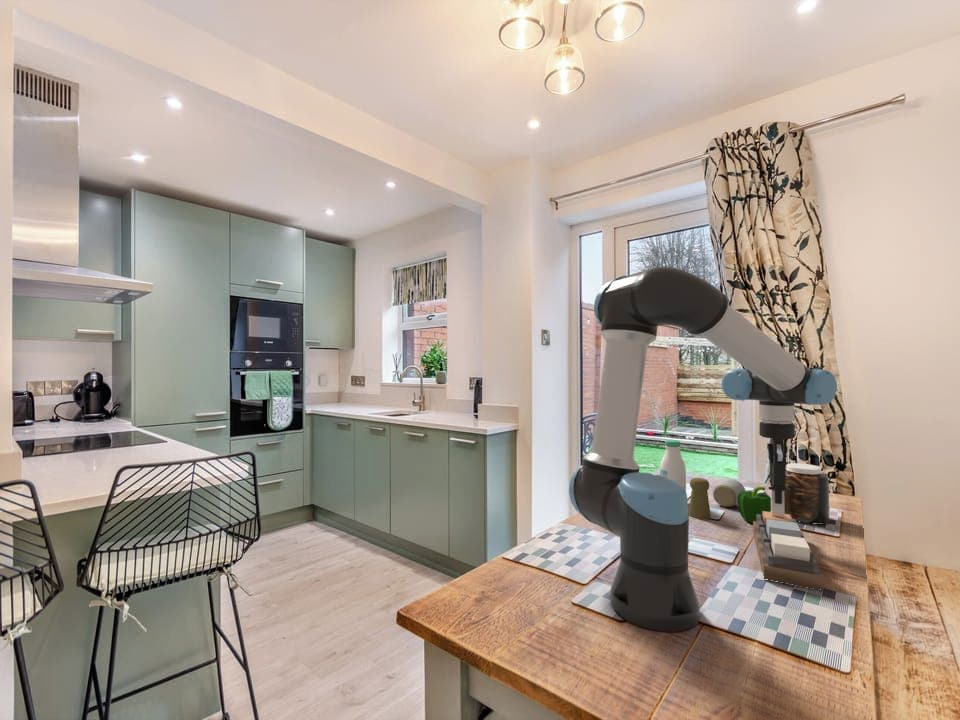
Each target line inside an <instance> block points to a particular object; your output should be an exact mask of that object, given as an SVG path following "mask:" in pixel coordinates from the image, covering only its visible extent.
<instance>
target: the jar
mask: <svg viewBox="0 0 960 720" xmlns="http://www.w3.org/2000/svg"><path fill="white" fill-rule="evenodd" d="M829 484H830V483H829V477H828V475H827V474H824V473H822V467H821V466H818V465H816V464H815V465H814V464H809V463H808V464H807V463H798V462H796V463H795V462H793V463H792V462H791V463H786V480H785V486H786V489H785V490H784V508H785V514H789V515H790V516H791V518H792V519H795V520H796V521H800V522H804V523H803V524H805V523H826V522H828V521H829V522H830V487H829ZM800 522H799V523H800ZM829 522H828V523H829ZM826 524H827V523H826Z"/></svg>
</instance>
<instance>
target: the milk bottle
mask: <svg viewBox="0 0 960 720" xmlns="http://www.w3.org/2000/svg"><path fill="white" fill-rule="evenodd" d="M664 447H665V452H664V455H663V457H662V459H661V461H660V468H659V475H660V476H663V477H666V478H669V479H671V480H673V481H675V482H677V483H678V484H679V485H681V486H682V487H683V489H684V490H685V492H686V493H687V471H686V469H687V468H686V463H685V461H684V459H683V457H682V454H681V441H680V440H676V439H667V440H665V441H664Z"/></svg>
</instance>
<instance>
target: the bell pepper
mask: <svg viewBox="0 0 960 720" xmlns="http://www.w3.org/2000/svg"><path fill="white" fill-rule="evenodd" d="M765 490H766V487H765V486H757V487H754V488H753V491H752V490H750V489H749V490H746V492H745V491H740V492H739V494H738V506H739V507H738V506H737V507H738V509H739V513H740V516H741V517H742V519H744V520H745V521H746V522H747V523H750V524H751V523H752V524H753V521H757V514H759V515H762V511H766V512H771V495H768V493H766V492H764V491H765ZM759 491H763V492H759Z"/></svg>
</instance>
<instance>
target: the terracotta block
mask: <svg viewBox="0 0 960 720" xmlns="http://www.w3.org/2000/svg"><path fill="white" fill-rule="evenodd" d="M766 519H771V520H778V521H786V522H793V520H792V518H791V516H790V515H789V514H785V517H780V516H772V515H771V512H766V511H762V522H763V524H766Z"/></svg>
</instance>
